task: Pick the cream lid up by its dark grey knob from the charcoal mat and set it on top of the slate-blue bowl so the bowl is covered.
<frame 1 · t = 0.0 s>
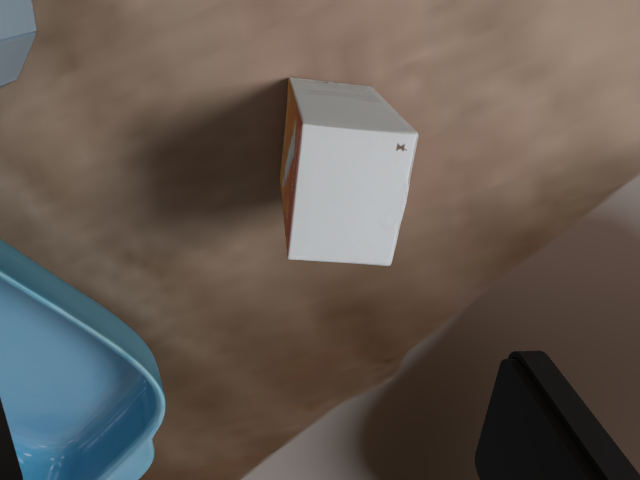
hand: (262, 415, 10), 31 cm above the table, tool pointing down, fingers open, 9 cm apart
small box: (322, 133, 40), on the table
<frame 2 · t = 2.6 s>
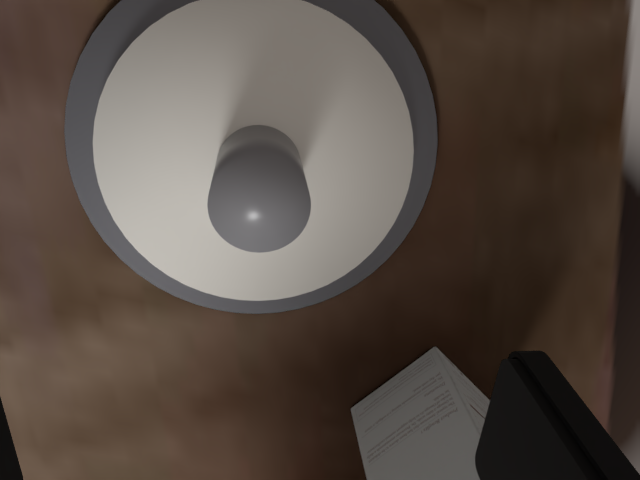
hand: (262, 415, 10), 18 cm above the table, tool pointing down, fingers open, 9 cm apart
supplement box: (422, 402, 35), on the table
lid: (259, 160, 25), resting on mat
mat: (259, 157, 26), on the table
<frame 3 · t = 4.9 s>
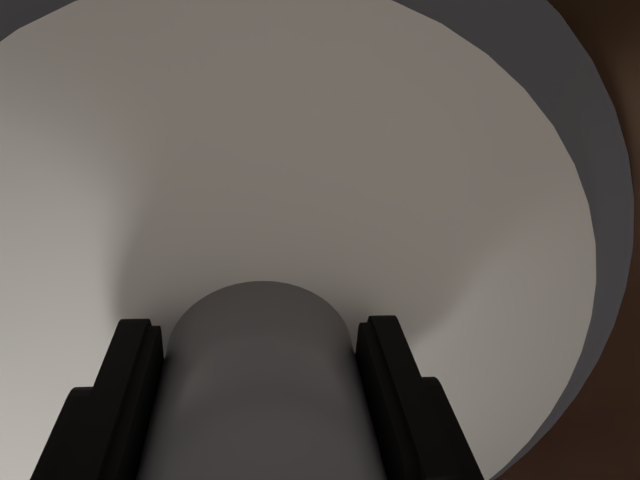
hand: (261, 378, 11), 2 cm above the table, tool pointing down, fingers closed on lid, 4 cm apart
lid: (260, 331, 12), resting on mat, touching gripper
mat: (260, 319, 13), on the table
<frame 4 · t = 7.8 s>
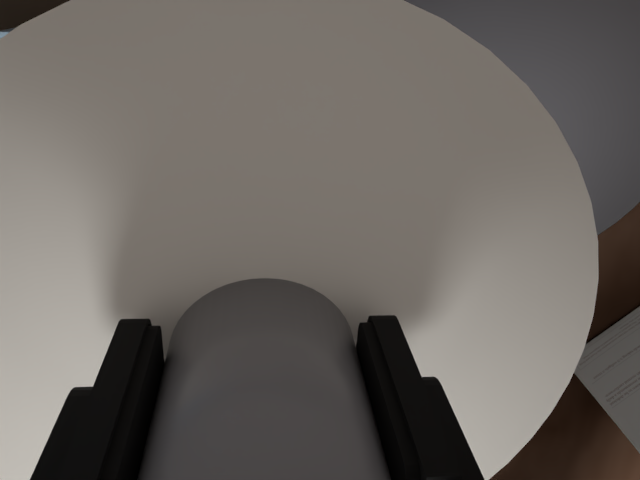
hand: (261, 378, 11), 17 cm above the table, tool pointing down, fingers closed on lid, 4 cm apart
supplement box: (629, 353, 36), on the table
lid: (262, 329, 12), point 16 cm above the table, touching gripper
mat: (532, 109, 27), on the table
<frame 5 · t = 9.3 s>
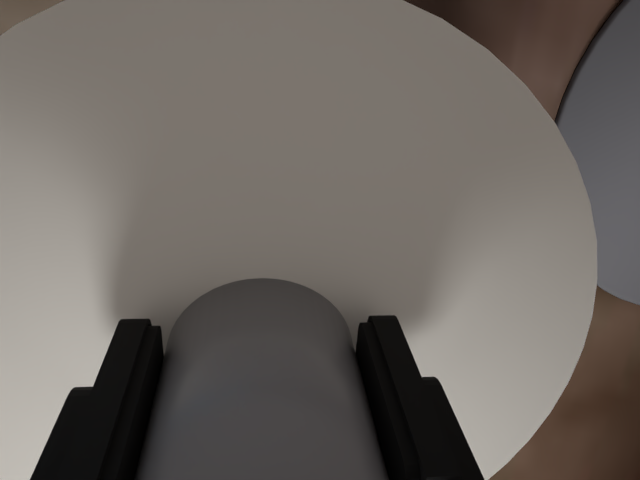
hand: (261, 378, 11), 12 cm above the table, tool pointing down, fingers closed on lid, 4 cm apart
lid: (260, 329, 12), point 11 cm above the table, touching gripper
when the fingers open (9 cm above the table, at t = 10.6 s): lid drops 1 cm, resting on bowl.
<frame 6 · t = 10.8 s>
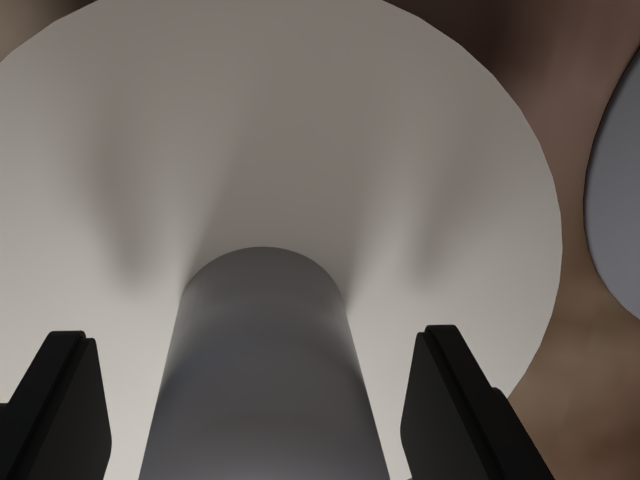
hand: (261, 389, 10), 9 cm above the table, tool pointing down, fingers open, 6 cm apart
lid: (262, 296, 13), point 6 cm above the table, touching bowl
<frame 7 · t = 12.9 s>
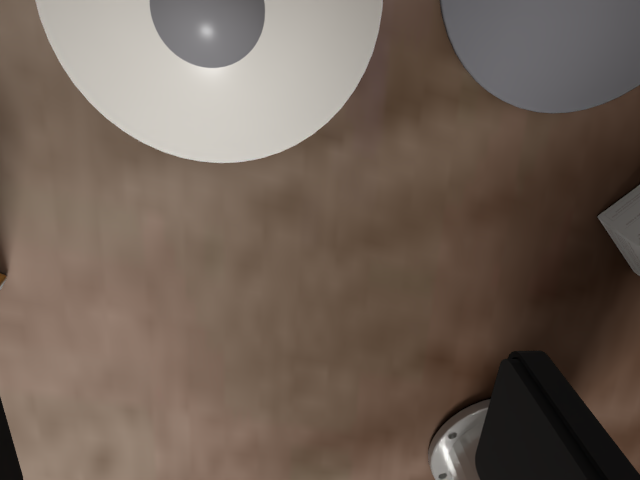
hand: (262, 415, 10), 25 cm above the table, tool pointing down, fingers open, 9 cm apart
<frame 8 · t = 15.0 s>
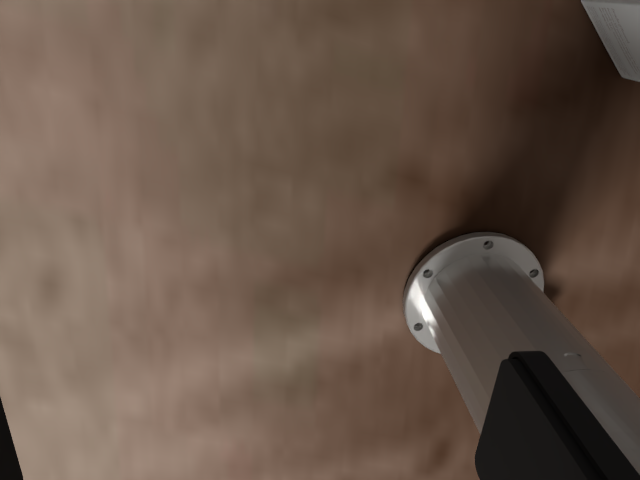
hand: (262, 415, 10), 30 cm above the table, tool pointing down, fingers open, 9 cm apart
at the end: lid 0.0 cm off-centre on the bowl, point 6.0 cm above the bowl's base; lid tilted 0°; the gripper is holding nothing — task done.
